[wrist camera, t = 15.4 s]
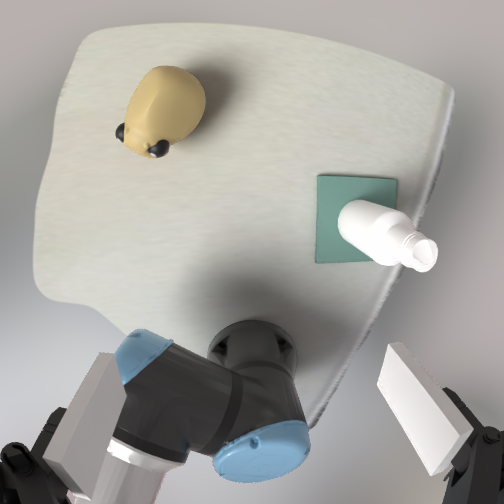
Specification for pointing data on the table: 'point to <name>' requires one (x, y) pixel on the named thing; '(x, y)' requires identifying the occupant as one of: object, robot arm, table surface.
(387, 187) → the mat
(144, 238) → the table surface
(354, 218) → the spray bottle
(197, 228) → the table surface
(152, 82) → the toy pig
